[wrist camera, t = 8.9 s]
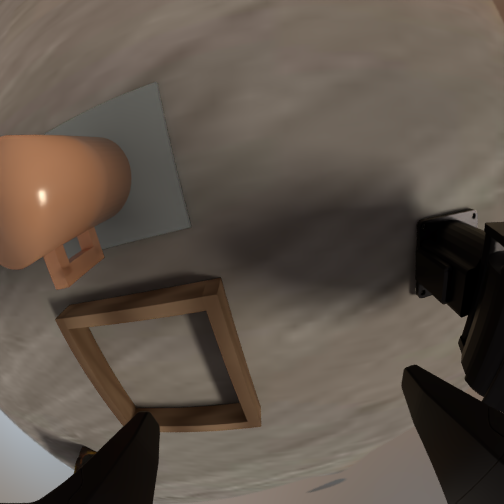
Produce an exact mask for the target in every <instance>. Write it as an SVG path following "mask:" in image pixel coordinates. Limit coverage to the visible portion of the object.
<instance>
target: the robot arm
mask: <svg viewBox="0 0 504 504" xmlns="http://www.w3.org/2000/svg"><path fill="white" fill-rule="evenodd" d="M472 215H473V217H472ZM423 225H425V226H424V228H423V229H422V226H423ZM477 227H478V213H477V211H476V210H473V209H469V210H464V211H460V212H455V213H450V214H445V215H441V216H436V217H431V218H427V219H422V220H420V221H419V222H418V224H417V250H416V280H417V284H416V294H417V296H418V297H419V298H425V297H428V296H431V295H433V296H434V297H435V298H436V299H438V300H439V301H440V302H441V303H442V304H443V305H444V304H447V305H448V306H450V307H451V308H452V309H453V310H454V311H455V312H456V313H457V314H458V315H459V316H460V317H464V316H467V315H468V317H467V321H466V324H465V327H464V330H463V333H462V335H461V336H460V339H459V341H458V344H459V347H460V350H461V353H462V358H461V363H462V366H463V369H464V372H465V374H466V375H465V381H466V382H467V383H468V385H469V386H470V387H471V388H472V389H473V390H474V391H475V392H477V393H478V394H479V395H481V396H483V397H484V398H483V400H482V401H480V400H478V399H476V398H474V397H472V396H471V395H469V394H467V393H465V392H463V391H462V390H460V389H458V388H456V387H455V386H453V385H451V384H449V383H447V382H446V381H444V380H442V379H440V378H439V377H437V376H435V375H433V374H432V373H430V372H428V371H426V370H425V369H423V368H421V367H419V366H418V365H411V366H408V367H406V368H405V369H404V372H403V378H402V390H403V393H404V396H405V399H406V402H407V405H408V408H409V411H410V414H411V417H412V420H413V423H414V425H415V427H416V429H417V432H418V434H419V436H420V438H421V440H422V442H423V445H424V447H425V449H426V451H427V454H428V456H429V458H430V461H431V463H432V465H433V468H434V470H435V473H436V475H437V477H438V480H439V482H440V485H441V487H442V490H443V492H444V495H445V497H446V500H447V503H448V504H504V222H491V223H485V229H484V231H483V230H481V229H478V228H477ZM422 291H423V292H422ZM421 292H422V293H421ZM500 411H501V412H500ZM502 412H503V413H502ZM159 439H160V426H159V424H158V422H157V421H156V420H155V418H154V417H153V415H152V414H151V413H150V412H149V411H139V412H138V413H137V414H136V415H135V416H134V417H132V418H131V419H130V420H129V421H128V422H127V423H126V424H125V425H124V426H123V427H122V428H121V429H120V430H119V431H118V432H117V433H116V434H115V435H114V436H113V437H112V438H111V439H110V440H109V441H108V442H107V443H106V444H105V445H104V446H103V447H102V448H101V449H100V450H99V451H98V452H97V453H95V454H94V455H93V456H92V457H91V458H90V459H89V460H88V461H87V462H86V463H85V464H84V465H83V466H82V468H79V469H78V470H77V471H76V472H75V473H74V474H73V475H72V476H71V477H70V478H68V479H67V480H66V481H65V482H63V483H62V484H61V485H60V486H58V487H57V488H56V489H54V490H53V491H51V492H50V493H48V494H47V495H46V496H44V497H43V498H41V499H40V500H37V501H35V502H31V503H0V504H153V497H154V490H155V483H156V476H157V470H158V462H159Z"/></svg>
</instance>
